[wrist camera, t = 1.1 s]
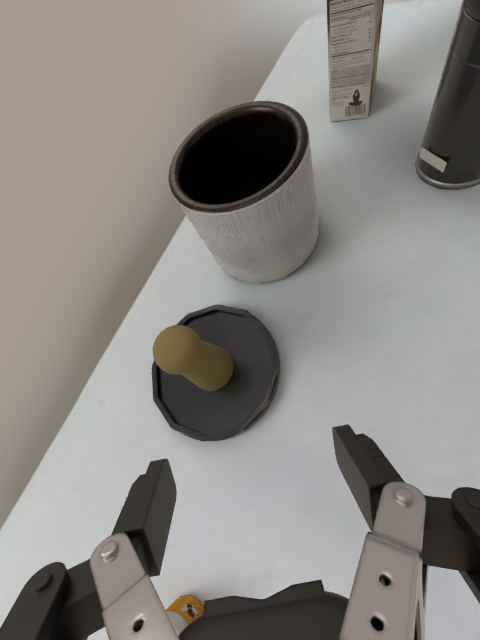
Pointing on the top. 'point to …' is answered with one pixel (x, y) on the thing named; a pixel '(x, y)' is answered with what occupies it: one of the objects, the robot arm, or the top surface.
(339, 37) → the coffee box
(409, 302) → the top surface
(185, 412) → the metal plate
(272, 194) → the planter
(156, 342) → the cork
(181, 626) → the toy food
